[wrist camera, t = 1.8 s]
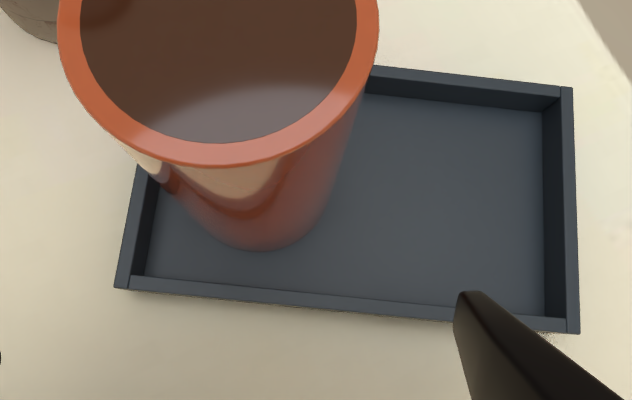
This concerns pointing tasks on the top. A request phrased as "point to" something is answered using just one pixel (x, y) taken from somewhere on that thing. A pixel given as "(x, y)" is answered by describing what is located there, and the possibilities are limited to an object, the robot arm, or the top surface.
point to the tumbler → (227, 101)
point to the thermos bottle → (34, 16)
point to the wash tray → (404, 213)
